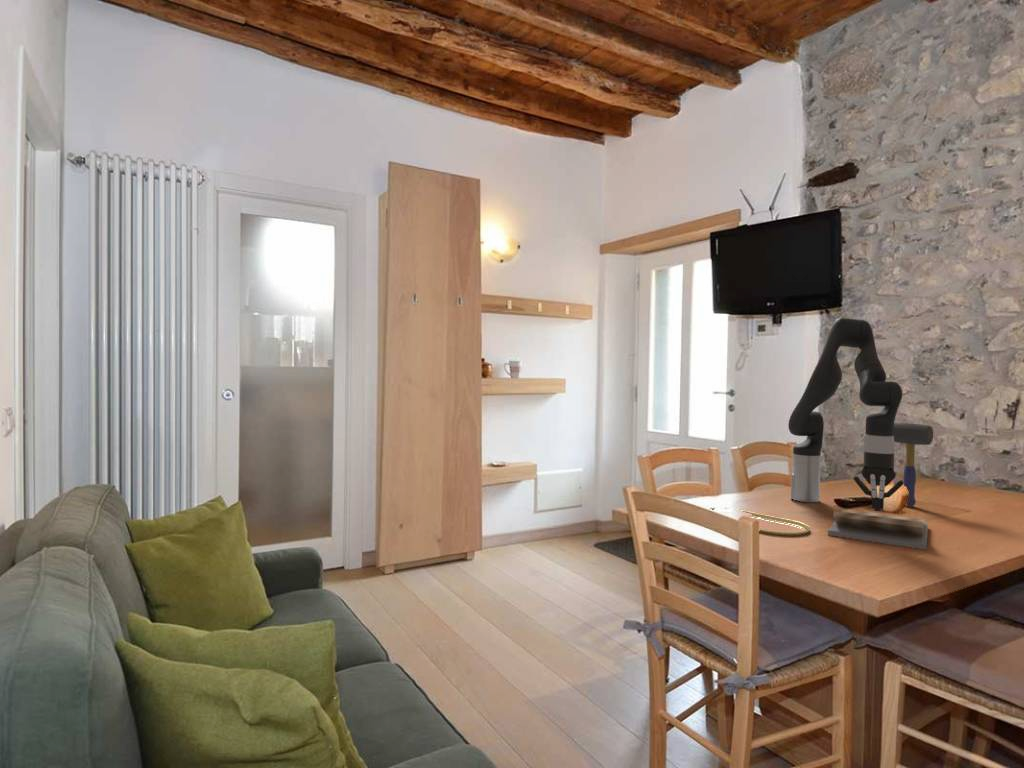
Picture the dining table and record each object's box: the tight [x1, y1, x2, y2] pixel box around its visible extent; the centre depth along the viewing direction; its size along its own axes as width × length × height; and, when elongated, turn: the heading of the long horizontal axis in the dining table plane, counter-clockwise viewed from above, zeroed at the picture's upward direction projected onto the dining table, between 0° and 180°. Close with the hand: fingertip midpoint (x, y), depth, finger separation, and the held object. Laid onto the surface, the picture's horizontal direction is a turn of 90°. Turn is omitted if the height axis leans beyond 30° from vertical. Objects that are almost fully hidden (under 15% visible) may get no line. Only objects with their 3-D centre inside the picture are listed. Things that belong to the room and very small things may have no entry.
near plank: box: [832, 510, 923, 536], centre depth 178 cm, size 22×8×2 cm, turn 55°
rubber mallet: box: [894, 422, 934, 508], centre depth 219 cm, size 12×8×30 cm, turn 39°
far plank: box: [841, 508, 925, 528], centre depth 191 cm, size 22×8×2 cm, turn 55°
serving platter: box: [709, 507, 811, 537], centre depth 193 cm, size 19×35×2 cm, turn 42°
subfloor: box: [827, 520, 929, 551], centre depth 184 cm, size 24×28×3 cm
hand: (877, 510), depth 176 cm, fingers closed
